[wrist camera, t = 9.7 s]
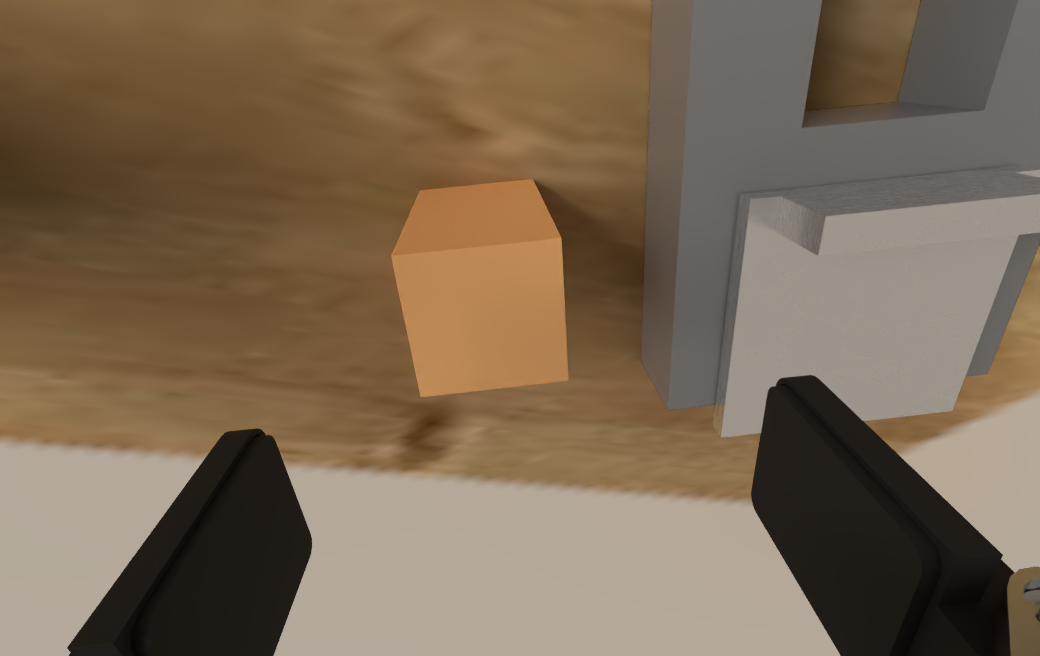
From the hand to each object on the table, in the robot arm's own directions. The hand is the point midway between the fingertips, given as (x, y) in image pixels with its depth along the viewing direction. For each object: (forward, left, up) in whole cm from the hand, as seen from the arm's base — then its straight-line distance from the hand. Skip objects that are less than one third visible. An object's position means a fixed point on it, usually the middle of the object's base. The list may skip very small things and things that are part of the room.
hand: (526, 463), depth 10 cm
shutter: (+13, -3, -10) cm, 17 cm away
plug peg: (-1, 0, -14) cm, 14 cm away
